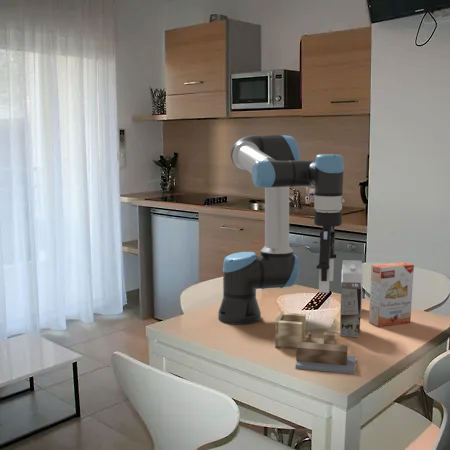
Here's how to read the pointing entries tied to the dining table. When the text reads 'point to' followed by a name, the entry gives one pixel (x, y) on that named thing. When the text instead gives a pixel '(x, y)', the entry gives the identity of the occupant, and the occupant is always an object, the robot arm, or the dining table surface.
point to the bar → (321, 353)
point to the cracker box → (391, 293)
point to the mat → (329, 366)
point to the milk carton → (352, 273)
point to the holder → (296, 332)
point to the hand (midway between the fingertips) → (326, 286)
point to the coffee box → (350, 309)
